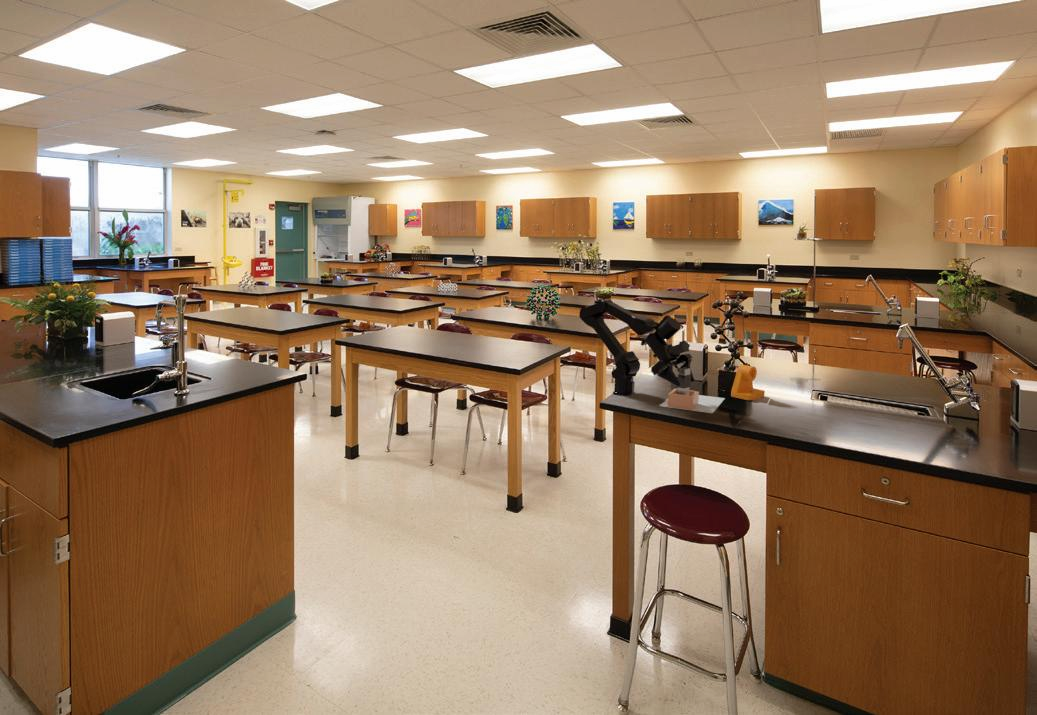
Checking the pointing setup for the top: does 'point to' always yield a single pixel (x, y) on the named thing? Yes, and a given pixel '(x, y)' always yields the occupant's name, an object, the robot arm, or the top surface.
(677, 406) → the holder
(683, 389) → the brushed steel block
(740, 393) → the bracket
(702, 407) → the bench mat
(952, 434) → the top surface
